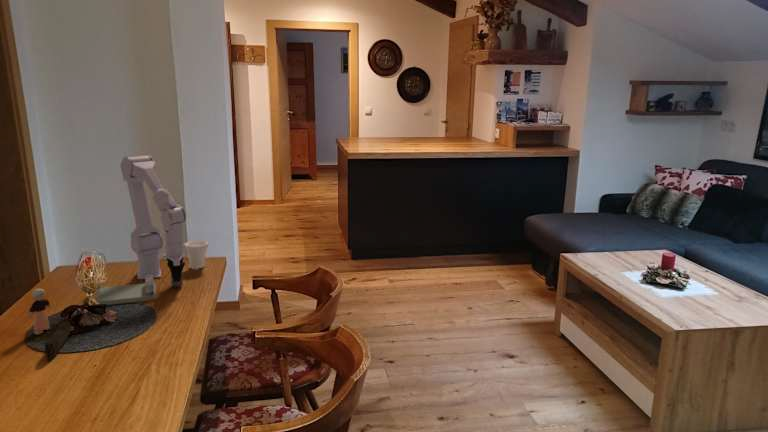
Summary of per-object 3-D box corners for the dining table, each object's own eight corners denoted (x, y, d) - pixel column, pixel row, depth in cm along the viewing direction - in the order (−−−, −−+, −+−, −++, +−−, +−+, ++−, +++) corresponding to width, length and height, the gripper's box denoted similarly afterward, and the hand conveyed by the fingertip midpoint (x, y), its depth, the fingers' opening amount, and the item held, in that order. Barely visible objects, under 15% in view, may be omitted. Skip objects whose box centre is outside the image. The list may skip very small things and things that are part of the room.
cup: (184, 264, 217) (183, 240, 215) (209, 263, 220) (208, 239, 218) (183, 272, 209) (182, 246, 207) (209, 270, 212) (208, 245, 209)
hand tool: (60, 332, 158) (58, 316, 157) (76, 330, 159) (74, 315, 158) (36, 364, 140) (34, 347, 139) (53, 363, 141) (51, 346, 140)
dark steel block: (171, 282, 195) (170, 266, 194) (181, 281, 197) (180, 265, 195) (171, 286, 192) (170, 269, 190) (182, 285, 193) (181, 268, 192)
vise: (91, 292, 186) (90, 279, 185) (155, 286, 194) (154, 273, 193) (87, 306, 175) (86, 292, 174) (155, 299, 182) (155, 285, 181)
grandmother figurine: (41, 336, 154) (36, 293, 151) (27, 335, 154) (22, 293, 151) (57, 324, 162) (53, 283, 159) (44, 324, 162) (39, 283, 159)
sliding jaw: (145, 283, 191) (145, 275, 190) (153, 282, 192) (153, 274, 191) (145, 293, 182) (145, 285, 181) (153, 293, 183) (153, 284, 182)
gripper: (161, 237, 196) (163, 273, 199) (162, 248, 183) (165, 287, 186) (182, 235, 198) (184, 271, 201) (185, 246, 185) (187, 285, 189)
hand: (176, 279), depth 194 cm, fingers closed on dark steel block, 4 cm apart
